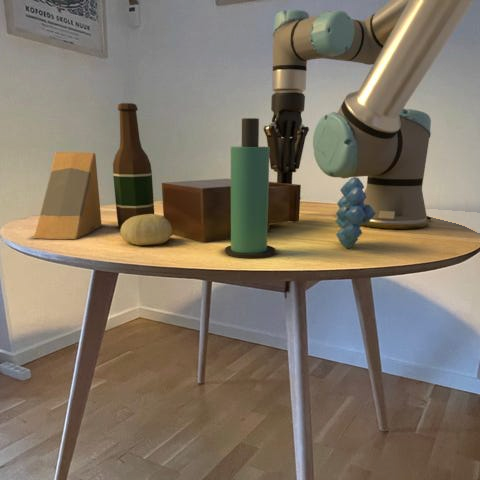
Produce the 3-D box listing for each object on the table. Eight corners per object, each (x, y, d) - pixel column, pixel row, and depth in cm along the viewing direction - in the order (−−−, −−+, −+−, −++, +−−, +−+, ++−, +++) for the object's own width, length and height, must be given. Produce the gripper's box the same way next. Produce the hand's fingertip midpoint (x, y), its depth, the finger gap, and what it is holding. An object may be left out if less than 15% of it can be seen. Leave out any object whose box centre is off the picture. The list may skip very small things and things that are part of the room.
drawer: (273, 213, 113) (273, 179, 110) (312, 219, 104) (314, 183, 101) (207, 222, 101) (206, 184, 98) (245, 230, 92) (245, 189, 89)
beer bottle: (162, 225, 101) (155, 104, 92) (138, 231, 95) (128, 101, 86) (135, 222, 105) (126, 105, 96) (110, 228, 98) (97, 102, 90)
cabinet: (227, 222, 105) (227, 178, 102) (269, 231, 96) (270, 183, 92) (164, 231, 95) (161, 182, 92) (204, 242, 85) (202, 188, 82)
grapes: (380, 256, 76) (389, 179, 72) (338, 255, 76) (345, 179, 72) (364, 241, 87) (371, 174, 83) (328, 240, 87) (333, 173, 83)
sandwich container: (31, 238, 88) (18, 154, 82) (64, 224, 102) (54, 151, 97) (76, 239, 87) (66, 154, 82) (102, 225, 102) (95, 152, 96)
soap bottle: (250, 243, 82) (251, 119, 74) (274, 249, 77) (278, 118, 70) (223, 248, 78) (222, 118, 71) (247, 255, 74) (248, 117, 66)
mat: (251, 244, 84) (251, 241, 84) (285, 253, 78) (285, 249, 78) (214, 251, 79) (214, 248, 78) (247, 260, 73) (247, 257, 73)
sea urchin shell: (107, 231, 85) (133, 196, 86) (137, 256, 90) (160, 224, 91) (131, 238, 78) (158, 201, 80) (162, 266, 84) (187, 230, 85)
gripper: (295, 95, 112) (290, 196, 120) (255, 92, 104) (253, 200, 112) (320, 93, 106) (313, 199, 115) (279, 90, 98) (275, 204, 107)
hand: (283, 200), depth 114 cm, fingers closed
